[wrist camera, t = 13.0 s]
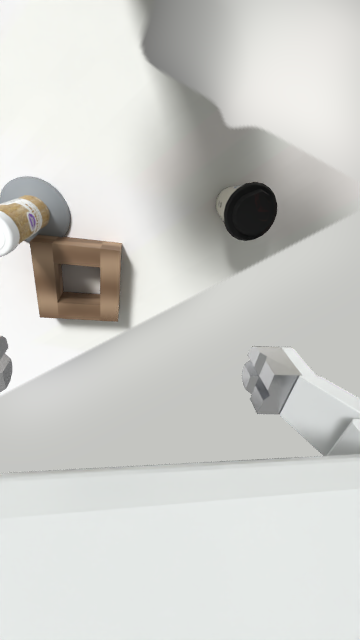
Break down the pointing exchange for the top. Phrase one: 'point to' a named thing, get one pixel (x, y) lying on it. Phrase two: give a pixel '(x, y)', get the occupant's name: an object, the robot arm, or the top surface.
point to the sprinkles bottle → (20, 221)
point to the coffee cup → (247, 210)
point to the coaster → (47, 195)
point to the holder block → (83, 253)
